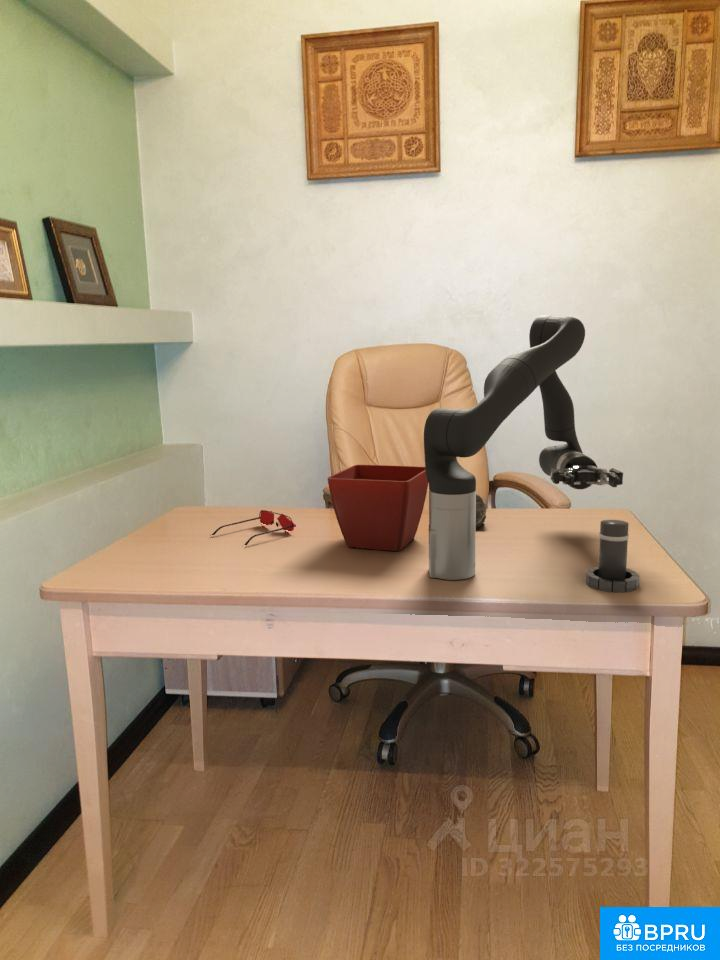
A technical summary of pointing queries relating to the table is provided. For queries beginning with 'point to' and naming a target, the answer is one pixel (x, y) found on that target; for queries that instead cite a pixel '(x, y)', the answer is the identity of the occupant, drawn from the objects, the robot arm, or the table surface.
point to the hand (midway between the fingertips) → (594, 482)
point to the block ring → (612, 581)
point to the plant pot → (378, 504)
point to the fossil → (480, 511)
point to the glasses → (268, 522)
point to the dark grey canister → (613, 549)
